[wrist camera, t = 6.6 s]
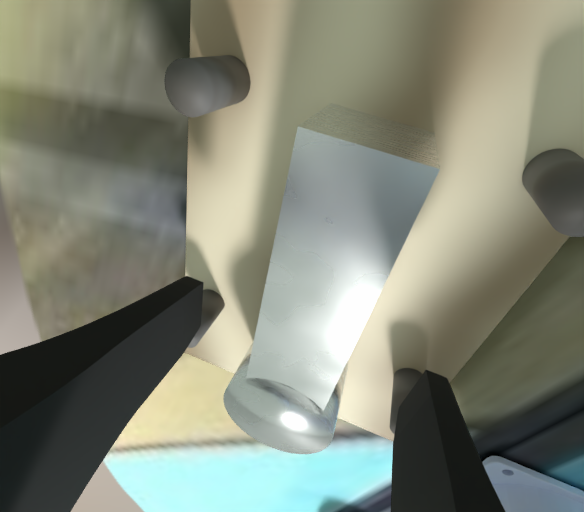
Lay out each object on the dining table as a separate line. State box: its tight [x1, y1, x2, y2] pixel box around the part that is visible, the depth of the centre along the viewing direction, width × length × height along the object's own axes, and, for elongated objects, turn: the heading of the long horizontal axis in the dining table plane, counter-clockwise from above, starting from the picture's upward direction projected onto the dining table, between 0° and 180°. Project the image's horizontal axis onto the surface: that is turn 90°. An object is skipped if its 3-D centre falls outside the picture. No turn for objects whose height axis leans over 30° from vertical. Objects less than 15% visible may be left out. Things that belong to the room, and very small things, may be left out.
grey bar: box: [224, 103, 440, 454], centre depth 13 cm, size 5×14×4 cm, turn 169°
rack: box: [165, 0, 584, 441], centre depth 13 cm, size 13×20×4 cm, turn 169°
